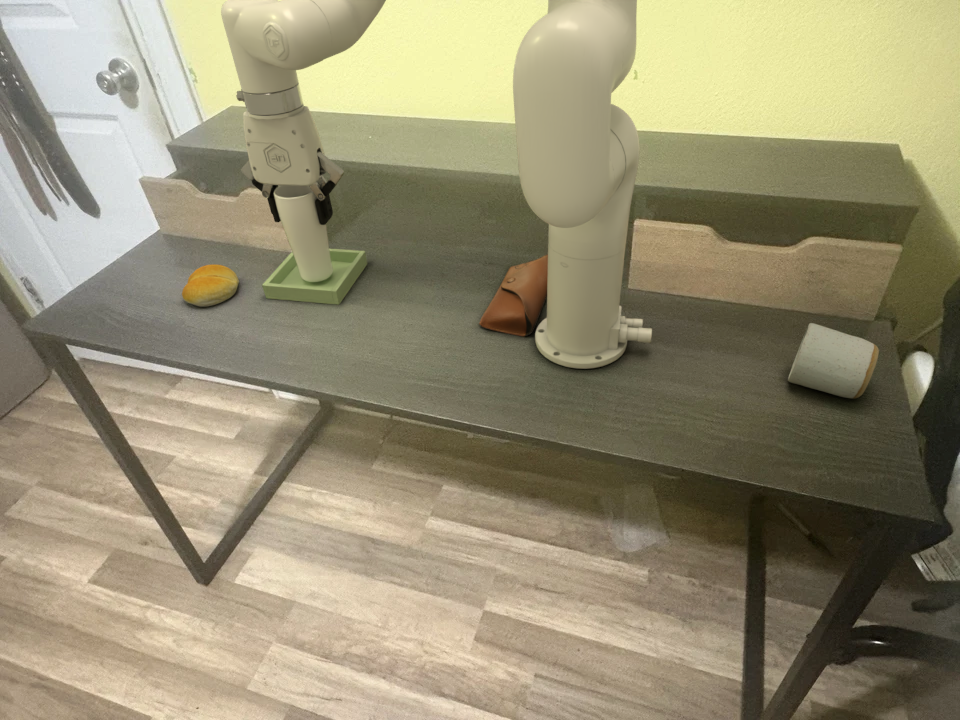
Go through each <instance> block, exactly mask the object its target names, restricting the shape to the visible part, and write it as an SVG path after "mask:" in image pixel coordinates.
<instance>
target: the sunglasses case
mask: <svg viewBox="0 0 960 720" xmlns="http://www.w3.org/2000/svg"><path fill="white" fill-rule="evenodd" d="M505 273H506V274H505V276H504V278H503V280H502V281H501V283H500V285H499V287H498V289H497V291H496V292H495V293H494V296H493V297H492V300H491V301H490V302H489V304H488V306H487V308H486V309H485V311H484V312H483V314H482V316H481V318H480V320H479V323H478V325H479V326H480V327H482V328H483V329H487V330H490V331H493V332H497V333H500V334H501V333H502V334H507V335H512V336H517V337H522V338H523V337H527V336H529V335H531V333H533V331H535V327H536V325H537V322H538V320H539V318H540V314H541V313H542V310H543V308H544V305H545V302H546V301H547V281H548V253H546V254H544V255H542V256H541V257H538V258H537V259H533V260H529V261H526V262H523V263H520V264H517V265H511V266H510V267H509V268H508V269H507V272H505Z"/></svg>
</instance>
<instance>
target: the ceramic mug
mask: <svg viewBox="0 0 960 720" xmlns="http://www.w3.org/2000/svg"><path fill="white" fill-rule="evenodd" d="M879 353H880V351H879V348H878V346H877V345H876V344H875V343H873V342H872V341H869V340H866V339H864V338H862V337H859V336H855V335H851V334H847V333H845V332H842V331H839V330H835V329H832V328H830V327H826V326H824V325H821V324H817V323H813V322H810V323H809V324H808V325H807V327H806V329H805V333H804V335H803V337H802V339H801V342H800V345H799V348H798V350H797V353H796V356H795V358H794V361H793V363H792V366H791V369H790V372H789V375H788V378H787V381H788V383H792V384H795V385H799V386H802V387H805V388H809V389H812V390H815V391H816V390H817V391H819V392H824V393H827V394H830V395H833V396H837V397H841V398H846V399H858V398H860V397H862V395H863V394H864V393H865V391H866V389H867V388H868V385H869V383H870V381H871V379H872V376H873V373H874V370H875V368H876V365H877V362H878V358H879Z"/></svg>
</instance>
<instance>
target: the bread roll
mask: <svg viewBox="0 0 960 720" xmlns="http://www.w3.org/2000/svg"><path fill="white" fill-rule="evenodd" d="M239 283H240V281H239V277H238V276H237V273H236V272H235V271H233V270H232V269H231V268H230V267H227V266H226V265H222V264H215V263H213V264H206V265H203V266H200V267H198V268H196V269H195V270H194V271H193V272H192V273H191V274H190V275H189V276H188V279H187V283H186V284H185V285H184V286H183V288H182V292H181V295H182V296H181V297H182V299H183V300H184V301H185V302H186V303H188V304H191V305H193V306H197V307H211V306H212V307H213V306H215V305H217V304H221V303H222V302H225V301H226V300H229V299H230V298H231V297H233V296H234V295H235V294H236V292H237V290H238V286H239Z"/></svg>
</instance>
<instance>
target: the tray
mask: <svg viewBox="0 0 960 720" xmlns="http://www.w3.org/2000/svg"><path fill="white" fill-rule="evenodd" d="M329 249H330V256H331V262H332V266H333V273H332V275H331V276H330V277H329V278H327V279H326V280H323V281H320V282H307V281H305V280H303V279H302V278H301V276H300V273H299V269H298V266H297V263H296V260H295V258H294V255H293V252H292V251H290V253H289V254H288V255H287V256H286V257H285V259H284V260H283V261H282V262H281V263H280V264H279V265H278V266H277V268H276V269H275V270H274V271H273V272H272V273H271V274H270V275H269V277H268V278H267V279H266V280H265V281H264V282H263V283H262V285H261V286H262V290H263V294H264V296H265V299H270V300H282V301H292V302H303V303H314V304H316V303H317V304H328V305H337V306H338V305H340V304H341V303H342V301H343V300H344V298H345V297H346V296H347V294H348V293H349V291H350V290H351V288H352V287H353V286H354V284H355V283H356V281H357V280H358V278H359V277H360V275H361V274H362V273H363V271H364V270H365V268H366V267H367V265H368V264H369V263H368V259H367V258H368V257H367V254H366V253H367V252H366V251H365V250H357V249H343V248H329Z"/></svg>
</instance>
